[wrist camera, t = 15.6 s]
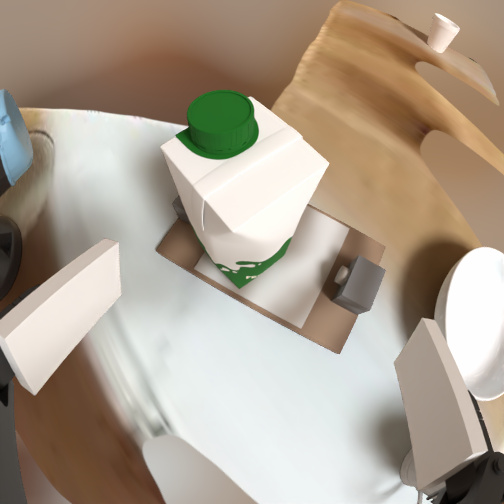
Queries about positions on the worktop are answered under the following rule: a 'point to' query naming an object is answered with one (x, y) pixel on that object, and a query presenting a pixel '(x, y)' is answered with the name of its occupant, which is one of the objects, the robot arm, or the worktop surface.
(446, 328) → the serving bowl
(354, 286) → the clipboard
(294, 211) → the soya milk
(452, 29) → the foam cup
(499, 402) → the worktop surface
